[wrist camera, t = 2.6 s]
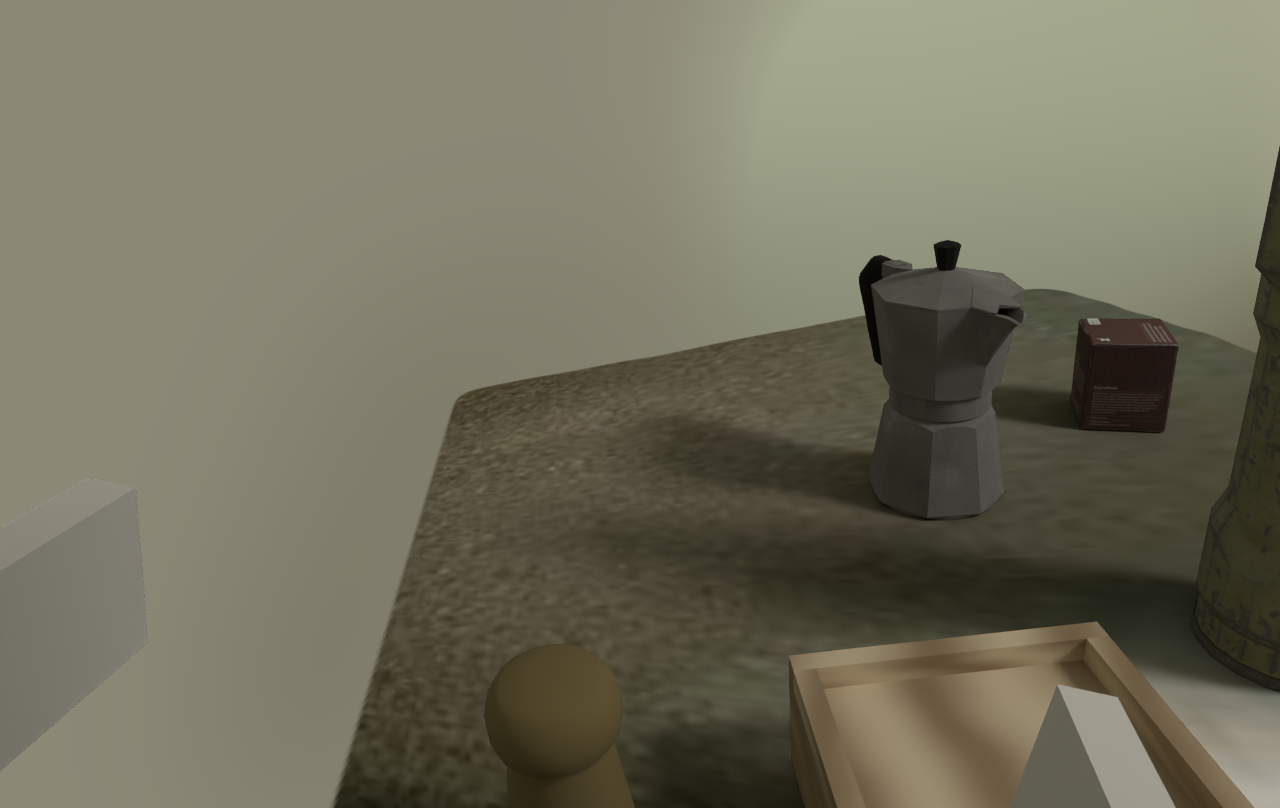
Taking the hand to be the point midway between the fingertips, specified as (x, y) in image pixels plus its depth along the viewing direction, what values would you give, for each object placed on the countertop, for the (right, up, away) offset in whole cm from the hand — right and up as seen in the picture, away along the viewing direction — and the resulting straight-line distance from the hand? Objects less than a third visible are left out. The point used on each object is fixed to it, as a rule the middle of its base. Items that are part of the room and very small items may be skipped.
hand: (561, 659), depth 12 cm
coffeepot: (+22, -2, +52) cm, 56 cm away
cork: (-1, -17, +25) cm, 30 cm away
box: (+39, +2, +58) cm, 71 cm away
